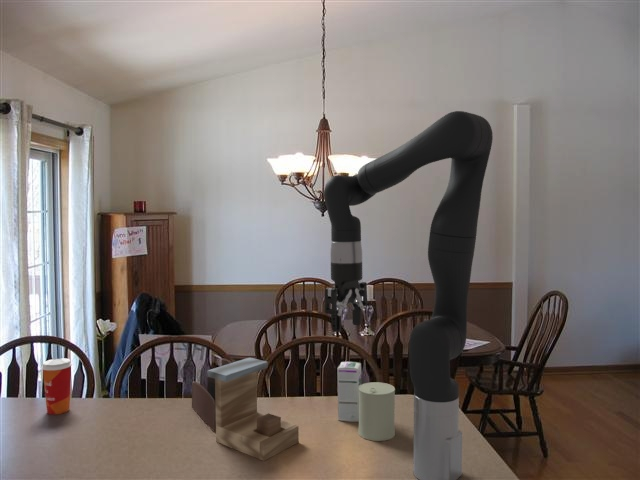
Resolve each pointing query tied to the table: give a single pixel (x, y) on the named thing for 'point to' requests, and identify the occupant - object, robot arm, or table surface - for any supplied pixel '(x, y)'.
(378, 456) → the table surface
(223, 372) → the socket stand
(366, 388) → the can
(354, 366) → the syrup box
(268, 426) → the peg
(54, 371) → the paper cup
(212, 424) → the letter holder
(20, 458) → the table surface
